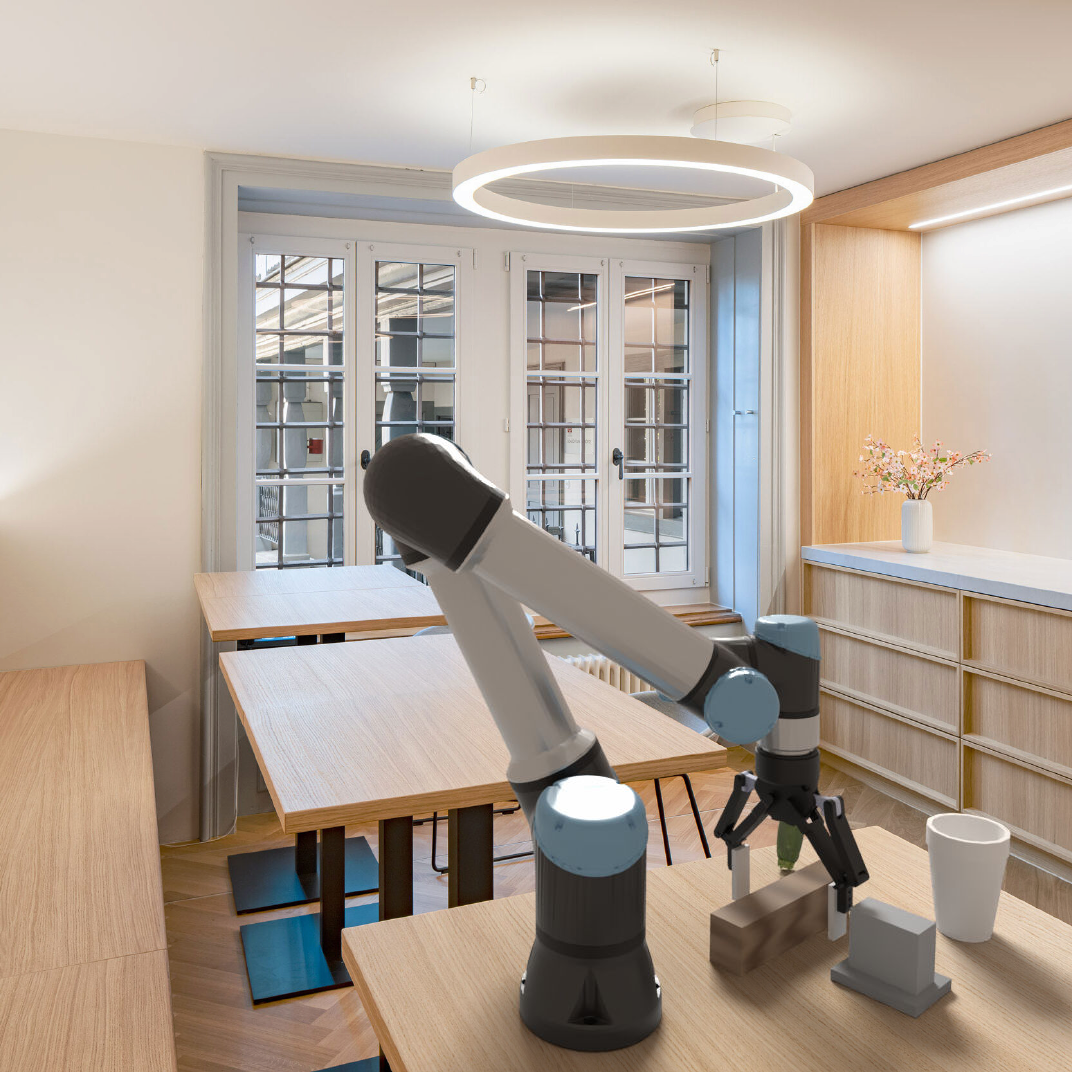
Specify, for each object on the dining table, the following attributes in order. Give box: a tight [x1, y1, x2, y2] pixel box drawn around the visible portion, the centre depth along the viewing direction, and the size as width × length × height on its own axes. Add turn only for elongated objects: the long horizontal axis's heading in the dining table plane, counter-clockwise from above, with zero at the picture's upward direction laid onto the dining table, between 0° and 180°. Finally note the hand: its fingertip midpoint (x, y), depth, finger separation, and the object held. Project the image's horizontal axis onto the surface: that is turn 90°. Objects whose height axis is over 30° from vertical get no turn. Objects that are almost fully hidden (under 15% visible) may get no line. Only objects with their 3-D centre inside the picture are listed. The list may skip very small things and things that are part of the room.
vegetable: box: [776, 821, 805, 870], centre depth 135 cm, size 4×4×20 cm
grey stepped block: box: [830, 896, 953, 1019], centre depth 107 cm, size 8×10×8 cm
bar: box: [709, 859, 850, 978], centre depth 117 cm, size 22×4×6 cm, turn 130°
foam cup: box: [925, 812, 1011, 944], centre depth 119 cm, size 10×9×13 cm
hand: (786, 915), depth 117 cm, fingers open, 13 cm apart
